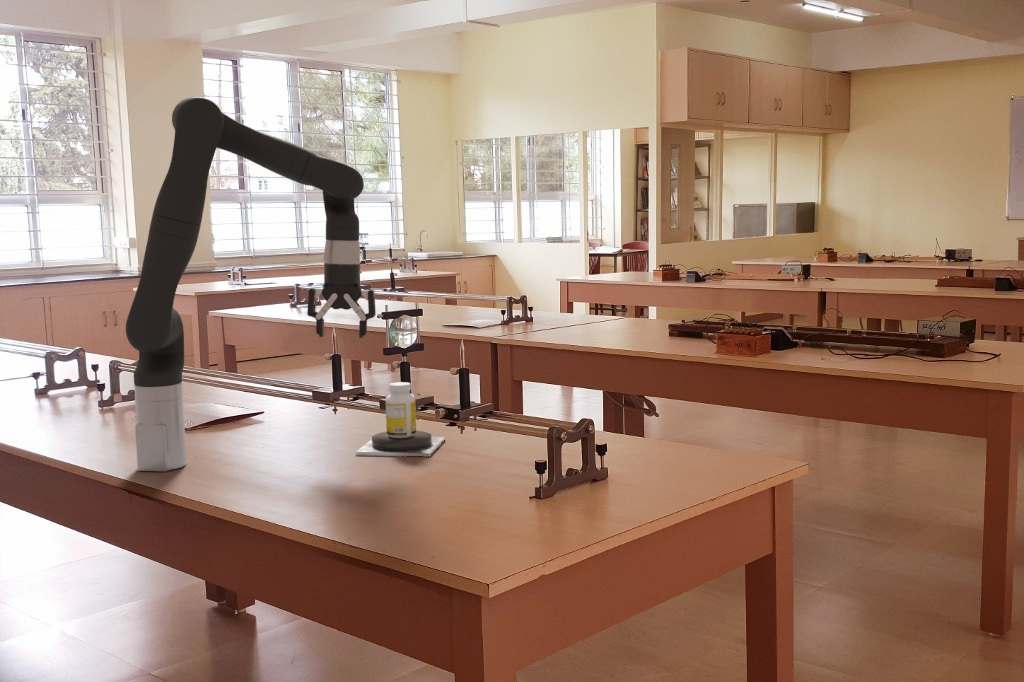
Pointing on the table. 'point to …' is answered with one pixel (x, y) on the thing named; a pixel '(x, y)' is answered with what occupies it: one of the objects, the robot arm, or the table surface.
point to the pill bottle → (400, 411)
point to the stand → (401, 445)
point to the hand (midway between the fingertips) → (341, 337)
